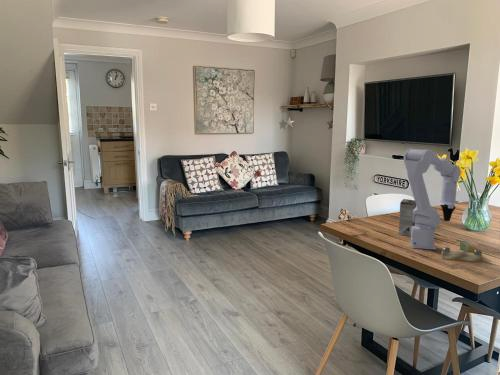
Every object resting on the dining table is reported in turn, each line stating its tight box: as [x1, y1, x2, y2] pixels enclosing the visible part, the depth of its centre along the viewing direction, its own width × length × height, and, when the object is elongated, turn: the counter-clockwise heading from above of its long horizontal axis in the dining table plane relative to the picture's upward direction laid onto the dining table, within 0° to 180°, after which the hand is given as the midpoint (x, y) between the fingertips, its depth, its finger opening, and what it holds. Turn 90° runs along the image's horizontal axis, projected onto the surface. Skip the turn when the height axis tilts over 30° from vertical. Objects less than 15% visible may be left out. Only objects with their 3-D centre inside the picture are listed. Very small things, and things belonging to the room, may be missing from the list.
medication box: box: [459, 240, 483, 255], centre depth 160 cm, size 12×3×4 cm, turn 179°
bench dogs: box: [442, 246, 481, 255], centre depth 154 cm, size 13×2×4 cm, turn 72°
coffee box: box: [398, 198, 417, 237], centre depth 189 cm, size 9×6×16 cm
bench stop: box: [441, 249, 483, 263], centre depth 154 cm, size 14×2×2 cm, turn 72°
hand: (446, 220), depth 177 cm, fingers closed
